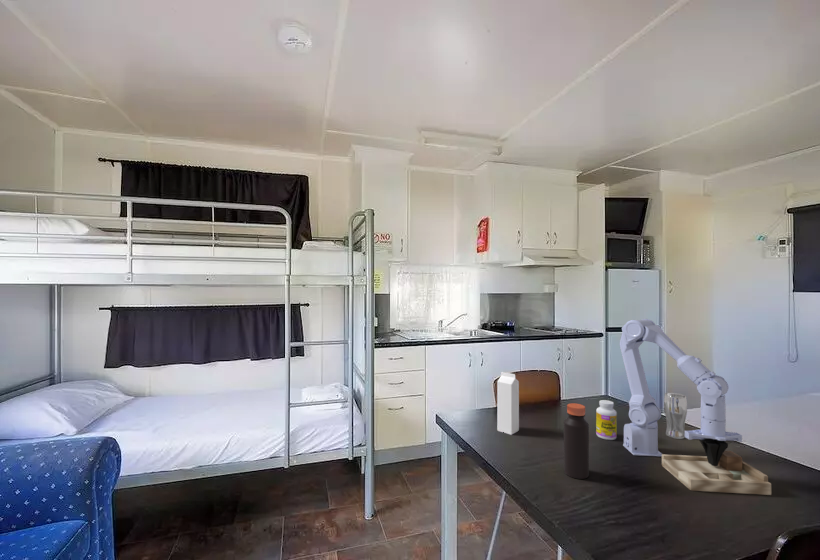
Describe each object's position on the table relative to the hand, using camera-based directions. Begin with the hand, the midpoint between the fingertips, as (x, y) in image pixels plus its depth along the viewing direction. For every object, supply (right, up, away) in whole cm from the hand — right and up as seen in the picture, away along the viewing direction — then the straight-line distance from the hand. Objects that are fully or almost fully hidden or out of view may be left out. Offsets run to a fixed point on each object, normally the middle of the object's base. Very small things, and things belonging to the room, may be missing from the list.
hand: (713, 464), depth 110 cm
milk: (-52, -4, +33) cm, 61 cm away
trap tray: (-2, -3, -2) cm, 4 cm away
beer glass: (+9, -4, +29) cm, 30 cm away
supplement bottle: (-17, -4, +27) cm, 32 cm away
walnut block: (+4, -1, -1) cm, 4 cm away
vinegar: (-40, -3, +1) cm, 40 cm away
